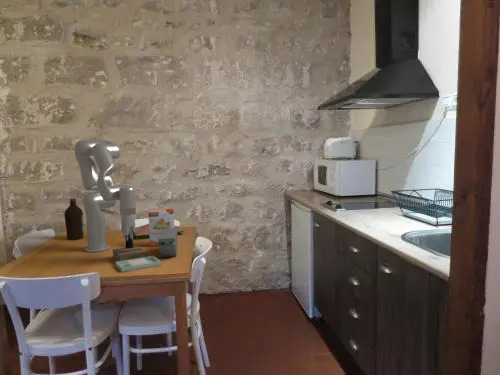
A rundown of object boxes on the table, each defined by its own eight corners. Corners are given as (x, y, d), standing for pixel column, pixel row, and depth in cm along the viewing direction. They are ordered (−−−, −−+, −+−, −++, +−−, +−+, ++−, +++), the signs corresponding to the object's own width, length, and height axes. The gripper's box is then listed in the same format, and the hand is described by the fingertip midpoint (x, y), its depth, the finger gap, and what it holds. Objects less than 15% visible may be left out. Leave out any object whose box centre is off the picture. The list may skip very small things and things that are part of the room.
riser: (113, 257, 201) (112, 249, 200) (138, 253, 207) (138, 245, 207) (120, 264, 187) (120, 256, 187) (147, 260, 194) (147, 252, 194)
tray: (115, 265, 185) (115, 261, 185) (153, 259, 195) (152, 255, 195) (122, 272, 175) (121, 268, 175) (161, 265, 185) (161, 261, 184)
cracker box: (149, 247, 220) (147, 210, 218) (150, 244, 226) (148, 208, 224) (175, 245, 223) (173, 208, 221) (175, 243, 229) (173, 207, 227)
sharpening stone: (175, 260, 193) (174, 238, 192) (159, 260, 192) (158, 239, 191) (178, 247, 218) (177, 228, 217) (163, 248, 217) (163, 228, 216)
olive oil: (67, 241, 239) (65, 200, 237) (64, 238, 248) (61, 198, 246) (86, 238, 245) (83, 198, 243) (82, 235, 254) (80, 197, 252)
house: (127, 234, 258) (126, 222, 257) (177, 229, 271) (176, 217, 270) (131, 241, 237) (130, 228, 236) (185, 235, 250) (184, 223, 249)
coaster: (131, 264, 178) (131, 269, 178) (148, 261, 182) (148, 266, 182) (126, 260, 185) (126, 265, 185) (143, 258, 189) (143, 262, 189)
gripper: (116, 210, 199) (118, 245, 201) (124, 214, 186) (125, 252, 188) (131, 208, 203) (132, 243, 205) (139, 213, 190) (141, 250, 192)
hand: (129, 247), depth 196 cm, fingers closed
